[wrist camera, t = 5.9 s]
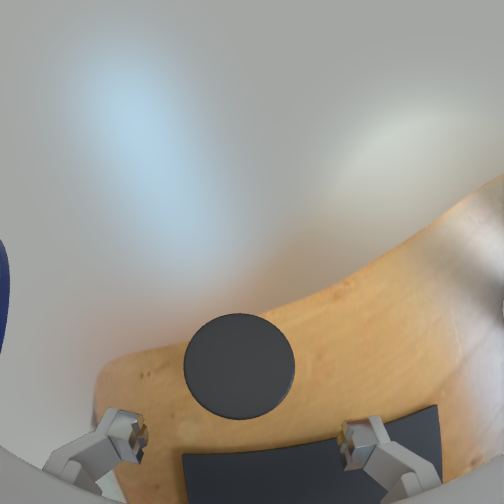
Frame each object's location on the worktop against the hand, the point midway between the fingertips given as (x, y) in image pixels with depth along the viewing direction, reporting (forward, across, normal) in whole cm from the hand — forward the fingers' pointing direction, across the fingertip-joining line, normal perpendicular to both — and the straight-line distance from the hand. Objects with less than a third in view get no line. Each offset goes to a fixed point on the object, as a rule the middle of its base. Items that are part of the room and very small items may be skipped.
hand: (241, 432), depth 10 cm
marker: (+8, 0, +5) cm, 10 cm away
